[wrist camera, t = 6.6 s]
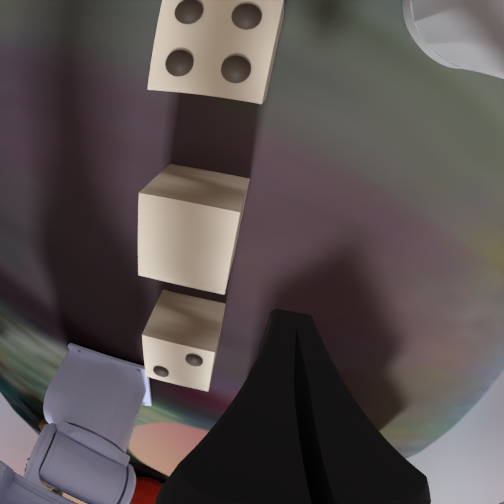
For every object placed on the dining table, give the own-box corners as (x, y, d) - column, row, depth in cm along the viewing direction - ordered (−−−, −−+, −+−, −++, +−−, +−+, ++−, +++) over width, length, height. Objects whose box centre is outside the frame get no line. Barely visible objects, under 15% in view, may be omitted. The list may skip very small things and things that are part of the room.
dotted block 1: (180, 84, 16) (146, 89, 12) (194, 6, 14) (165, -16, 9) (266, 97, 16) (261, 104, 12) (283, 16, 14) (284, -6, 9)
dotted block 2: (162, 332, 27) (145, 377, 22) (163, 289, 24) (141, 335, 20) (218, 344, 27) (208, 392, 22) (226, 303, 24) (214, 353, 20)
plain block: (164, 233, 21) (138, 275, 17) (170, 163, 19) (138, 192, 15) (235, 247, 22) (224, 294, 17) (249, 178, 19) (240, 212, 15)
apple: (133, 467, 52) (120, 512, 42) (176, 483, 54) (167, 527, 44) (123, 474, 56) (112, 513, 47) (162, 488, 59) (153, 527, 49)
